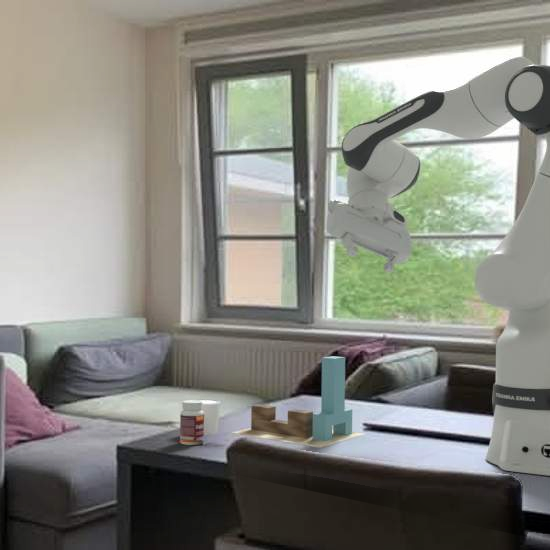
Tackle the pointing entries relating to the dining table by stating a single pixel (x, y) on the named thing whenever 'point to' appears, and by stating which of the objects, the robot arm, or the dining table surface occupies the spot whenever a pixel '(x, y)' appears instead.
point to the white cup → (210, 416)
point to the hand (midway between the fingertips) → (371, 262)
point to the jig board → (299, 440)
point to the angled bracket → (332, 402)
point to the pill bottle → (191, 422)
